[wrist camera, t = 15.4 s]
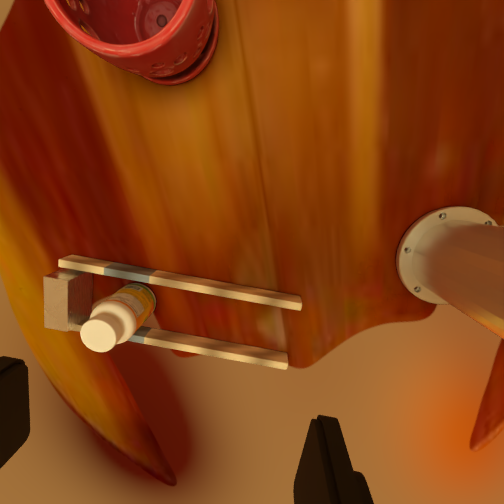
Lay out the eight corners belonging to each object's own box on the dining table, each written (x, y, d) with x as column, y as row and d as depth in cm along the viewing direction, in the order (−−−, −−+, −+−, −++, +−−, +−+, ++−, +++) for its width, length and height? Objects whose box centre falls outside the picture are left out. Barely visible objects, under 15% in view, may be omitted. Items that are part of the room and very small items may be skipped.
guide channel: (300, 296, 38) (304, 312, 33) (285, 358, 40) (288, 382, 35) (71, 254, 38) (43, 264, 33) (71, 319, 40) (44, 337, 36)
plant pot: (96, -17, 30) (-10, -142, 19) (212, -51, 29) (175, -208, 17) (132, 110, 33) (59, 71, 22) (238, 85, 32) (221, 28, 20)
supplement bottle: (136, 323, 40) (96, 366, 31) (112, 294, 39) (63, 329, 30) (164, 304, 39) (132, 343, 30) (140, 275, 38) (99, 304, 29)
